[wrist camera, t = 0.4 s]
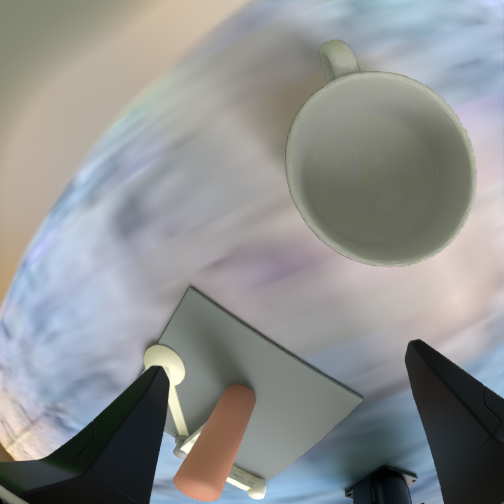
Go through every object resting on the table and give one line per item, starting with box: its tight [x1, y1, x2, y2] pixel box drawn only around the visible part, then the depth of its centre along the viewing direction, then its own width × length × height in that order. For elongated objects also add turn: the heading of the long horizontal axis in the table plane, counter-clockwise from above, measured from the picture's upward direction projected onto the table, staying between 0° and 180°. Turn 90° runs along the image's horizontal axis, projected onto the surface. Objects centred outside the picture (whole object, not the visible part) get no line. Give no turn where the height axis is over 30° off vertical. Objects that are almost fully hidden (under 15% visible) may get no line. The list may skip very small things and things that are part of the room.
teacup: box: [285, 40, 477, 267], centre depth 17 cm, size 14×11×8 cm
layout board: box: [141, 287, 363, 481], centre depth 25 cm, size 19×17×1 cm
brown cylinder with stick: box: [173, 384, 256, 501], centre depth 20 cm, size 12×3×11 cm, turn 142°
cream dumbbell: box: [226, 467, 268, 499], centre depth 25 cm, size 9×2×2 cm, turn 57°
